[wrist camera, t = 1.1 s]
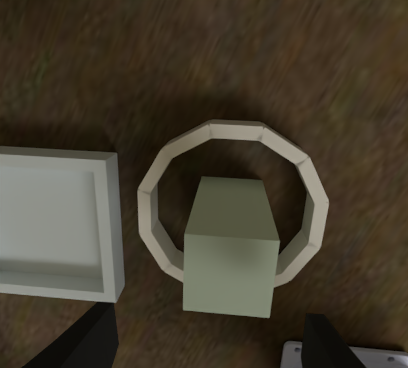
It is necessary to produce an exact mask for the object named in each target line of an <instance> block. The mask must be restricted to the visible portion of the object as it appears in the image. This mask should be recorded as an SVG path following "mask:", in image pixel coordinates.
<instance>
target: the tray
mask: <svg viewBox="0 0 408 368" xmlns="http://www.w3.org/2000/svg"><path fill="white" fill-rule="evenodd" d="M124 286H125V278H124V261H123V244H122V227H121V210H120V193H119V176H118V160H117V153H114V152H97V151H79V150H62V149H44V148H27V147H10V146H0V292H1V293H12V294H23V295H34V296H45V297H56V298H67V299H77V300H88V301H99V302H114V303H116V302H117V300H118V298H119V296H120V294H121V292H122V290H123V288H124Z"/></svg>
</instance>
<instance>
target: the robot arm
mask: <svg viewBox="0 0 408 368" xmlns="http://www.w3.org/2000/svg"><path fill="white" fill-rule="evenodd" d="M118 345H119V342H118V334H117V326H116V318H115V310H114V302H97V303H96V304H95V305H94V306H93V307H92V308H90V309H89V310H88V311H87V312H86V313H85V314H84V315H83V316H82V317H81V318H79V319H78V320H77V321H76V322H75V323H74V324H73V325H72V326H71V327H69V328H68V329H67V330H66V331H65V332H64V333H63V334H62V335H60V336H59V337H58V338H57V339H56V340H55V341H54V342H52V343H51V344H50V345H49V346H48V347H46V348H45V349H44V350H43V351H42V352H40V353H39V354H38V355H37V356H35V357H34V358H33V359H32V360H31V361H29V362H28V363H27V364H26V365H24V366H23V367H22V368H112V364H113V361H114V358H115V355H116V352H117V348H118ZM296 348H297V349H296ZM280 368H408V353H406V352H399V351H389V350H379V349H368V348H358V347H349V346H348V345H347V344H346V342H345V341H344V340H343V339H342V337H341V336H340V335H339V333H338V332H337V331H336V330H335V328H334V327H333V326H332V324H331V323H330V322H329V320H328V319H327V318H326V317H325V316H324V315H323V314H307V313H306V318H305V326H304V334H303V341H302V342H296V341H287V342H286V343H285V344H284V347H283V353H282V359H281V365H280Z"/></svg>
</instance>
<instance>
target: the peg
mask: <svg viewBox="0 0 408 368" xmlns="http://www.w3.org/2000/svg"><path fill="white" fill-rule="evenodd" d="M279 244H280V240H279V236H278V233H277V229H276V226H275V223H274V219H273V216H272V212H271V209H270V205H269V202H268V198H267V195H266V191H265V188H264V185H263V181H262V180H253V179H237V178H221V177H205V176H202V177H201V181H200V184H199V187H198V190H197V194H196V197H195V200H194V204H193V207H192V210H191V213H190V217H189V220H188V223H187V227H186V230H185V233H184V278H183V310H187V311H198V312H209V313H220V314H231V315H241V316H252V317H263V318H270V311H271V303H272V296H273V289H274V281H275V274H276V266H277V259H278V252H279Z"/></svg>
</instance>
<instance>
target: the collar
mask: <svg viewBox="0 0 408 368" xmlns="http://www.w3.org/2000/svg"><path fill="white" fill-rule="evenodd" d="M211 138H219V139H237V140H256V141H260V142H262V143H263V144H265V145H266V146H268V147H270V148H271V149H273V150H274V151H276V152H277V153H279V154H280V155H282V156H283V157H285V158H286V159H288V160H289V161H291V162H292V163H294V164H295V167H296V169H297V171H298V173H299V176H300V178H301V180H302V182H303V184H304V187H305V189H306V191H307V197H306V203H305V210H304V216H303V222H302V228H301V230H300V231H299V232H298V234H297V235H296V236H295V237H294V238H293V239H292V241H291V242H290V243H289V244H288V245H287V246H286V248H285V249H284V250H283V251H282V252H281V253H280V255H279V256H278V259H277V266H276V274H275V281H274V287H277V286H279V285H282V284H285V283H288V282H289V281H291V280H292V279H293V278H294V277H295V276H296V274H297V273H298V272H299V271H300V270H301V269H302V268H303V267H304V266H305V265H306V263H307V262H308V261H309V260H310V259H311V258H312V257H313V256H314V255H315V254H316V252H317V251H318V250H319V249H320V247H321V243H322V238H323V233H324V227H325V222H326V217H327V211H328V206H329V200H328V198H327V196H326V194H325V191H324V189H323V187H322V184H321V182H320V180H319V177H318V175H317V173H316V171H315V168H314V166H313V164H312V161H311V159H310V157H309V156H308V155H307V154H306V153H305V152H304V151H303V150H302V149H301V148H300V147H299V146H297V145H296V144H294V143H293V142H291V141H290V140H288V139H287V138H285V137H284V136H282V135H281V134H279V133H278V132H276V131H275V130H273V129H272V128H270V127H269V126H267V125H266V124H264V123H261V122H259V121H239V120H218V119H212V120H208V121H206V122H204V123H203V124H201V125H199V126H197V127H195V128H193V129H191V130H189V131H187V132H185V133H183V134H182V135H180V136H178V137H176V138H174V139H172V140H170V141H169V142H168V143H167V144H166V145H165V146H164V147H163V148H162V149H161V150H160V152H159V154H158V155H157V157H156V159H155V160H154V162H153V164H152V166H151V167H150V169H149V171H148V172H147V174H146V176H145V177H144V179H143V181H142V183H141V184H140V186H139V188H138V190H137V193H138V220H139V233H140V236H141V238H142V239H143V241H144V243H145V244H146V246H147V247H148V249H149V250H150V252H151V253H152V255H153V257H154V258H155V260H156V261H157V263H158V264H159V266H160V267H161V269H162V270H164V272H165V273H167V274H169V275H171V276H172V277H174V278H176V279H178V280H179V281H181V282H183V278H184V253H183V252H181V251H180V250H178V249H176V247H175V245H174V244H173V242H172V241H171V239H170V237H169V236H168V234H167V232H166V231H165V229H164V228H163V226H162V224H161V223H160V221H159V219H158V181H159V180H160V178H161V176H162V175H163V173H164V172H165V170H166V168H167V167H168V165H169V163H170V162H171V160H172V159H173V158H174V157H176V156H178V155H180V154H181V153H183V152H185V151H187V150H189V149H191V148H193V147H195V146H197V145H199V144H201V143H203V142H205V141H207V140H209V139H211Z"/></svg>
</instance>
